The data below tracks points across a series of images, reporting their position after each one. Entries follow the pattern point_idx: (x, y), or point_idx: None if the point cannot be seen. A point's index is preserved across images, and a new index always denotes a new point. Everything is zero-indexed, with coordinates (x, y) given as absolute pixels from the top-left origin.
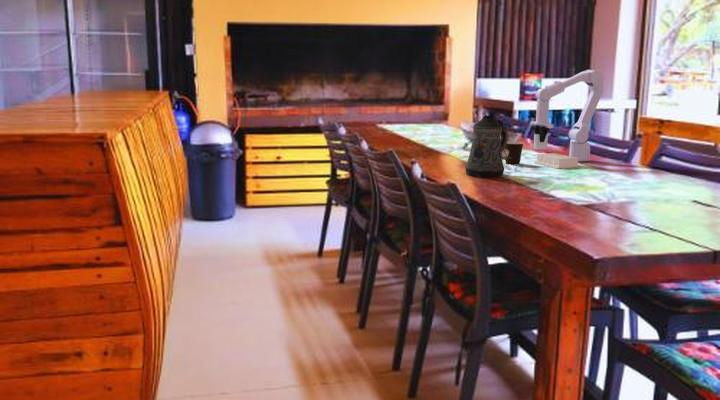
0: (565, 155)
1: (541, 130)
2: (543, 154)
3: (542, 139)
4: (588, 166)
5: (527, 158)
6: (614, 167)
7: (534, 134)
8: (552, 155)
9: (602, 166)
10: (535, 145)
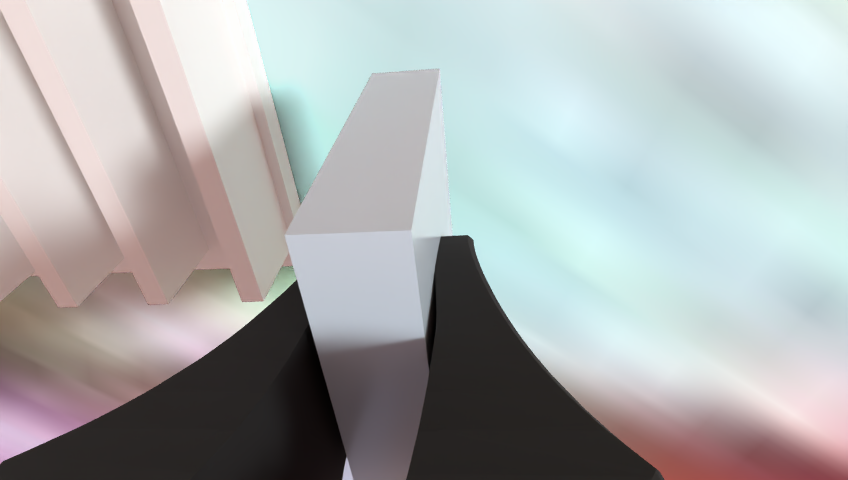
0: (44, 283)
1: (41, 444)
2: (160, 70)
3: None
4: (36, 344)
5: (690, 94)
6: (12, 452)
7: (395, 229)
8: (82, 156)
9: (50, 420)
10: (366, 99)
